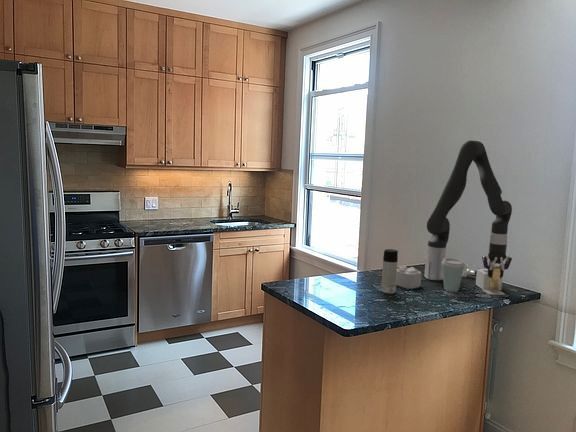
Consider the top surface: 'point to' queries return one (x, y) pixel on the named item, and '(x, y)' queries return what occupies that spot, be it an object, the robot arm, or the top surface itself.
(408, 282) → the lumpy-topped squat cylinder
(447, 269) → the disposable coffee cup
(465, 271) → the valve
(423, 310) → the top surface
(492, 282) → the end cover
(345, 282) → the top surface
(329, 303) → the top surface
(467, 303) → the top surface
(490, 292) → the mat
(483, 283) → the box
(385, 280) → the spray can
